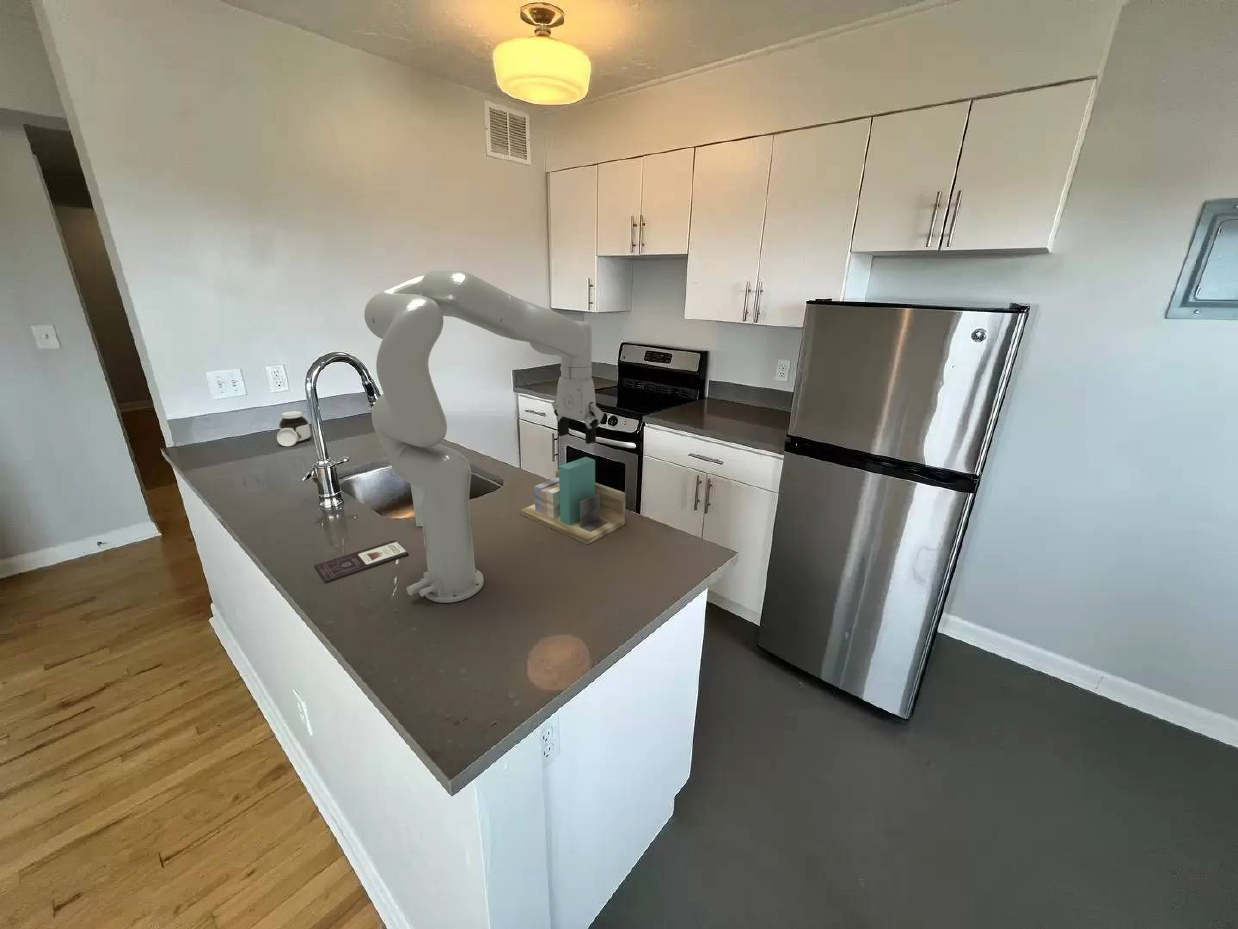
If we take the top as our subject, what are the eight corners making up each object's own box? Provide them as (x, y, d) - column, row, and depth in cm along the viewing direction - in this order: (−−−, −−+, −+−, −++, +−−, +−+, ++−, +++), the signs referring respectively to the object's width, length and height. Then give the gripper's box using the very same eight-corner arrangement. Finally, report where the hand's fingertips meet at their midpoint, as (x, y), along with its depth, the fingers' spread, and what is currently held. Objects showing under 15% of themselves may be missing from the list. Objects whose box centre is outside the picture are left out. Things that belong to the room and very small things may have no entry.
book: (569, 525, 133) (568, 469, 127) (560, 521, 135) (558, 466, 129) (594, 513, 140) (595, 459, 135) (585, 509, 142) (585, 456, 137)
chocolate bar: (314, 565, 114) (394, 539, 126) (315, 568, 115) (394, 543, 126) (325, 581, 108) (408, 553, 120) (325, 585, 109) (408, 557, 120)
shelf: (587, 544, 126) (587, 510, 123) (520, 514, 142) (518, 483, 139) (624, 524, 137) (625, 492, 134) (559, 498, 153) (558, 469, 150)
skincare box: (436, 528, 133) (430, 476, 128) (414, 526, 134) (407, 475, 129) (449, 514, 141) (444, 465, 136) (429, 513, 142) (422, 464, 137)
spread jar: (310, 436, 208) (304, 409, 204) (315, 443, 200) (309, 415, 196) (275, 441, 201) (269, 413, 197) (280, 449, 192) (273, 419, 188)
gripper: (541, 370, 126) (543, 435, 132) (591, 379, 116) (591, 449, 122) (563, 367, 132) (564, 429, 138) (612, 375, 122) (611, 442, 127)
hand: (577, 438), depth 130 cm, fingers open, 9 cm apart
